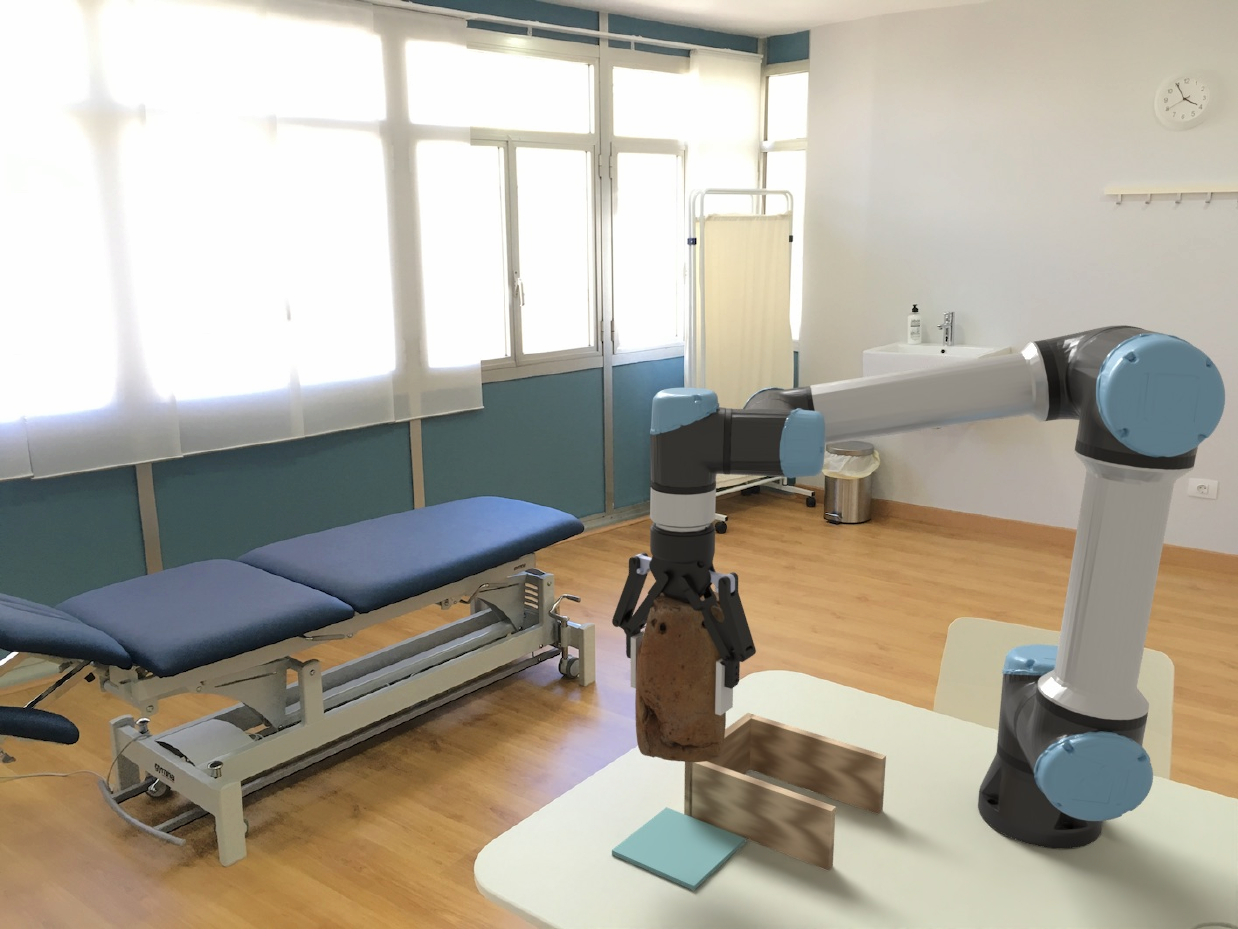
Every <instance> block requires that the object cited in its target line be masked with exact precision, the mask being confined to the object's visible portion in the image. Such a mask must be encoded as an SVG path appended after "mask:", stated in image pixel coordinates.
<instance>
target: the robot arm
mask: <svg viewBox="0 0 1238 929" xmlns="http://www.w3.org/2000/svg"><path fill="white" fill-rule="evenodd" d="M1219 370H1220V369H1219V368H1218V367H1217V366H1216V364H1215V363H1214V361H1213V360H1212V359H1211V358H1210V357H1209V356H1208V355H1207V353H1205V352H1204V351H1203V350H1201V349H1199V348H1198V347H1197V346H1194V345H1193V344H1192V343H1190V342H1189V341H1188V340H1187V341H1186V339H1183V338H1180V337H1178V336H1176V335H1173V334H1167V333H1163V332H1162V333H1161V332H1158V331H1152V330H1148V329H1144V328H1141V327H1137V326H1132V325H1109V326H1102V327H1098V328H1093V329H1089V330H1088V329H1087V330H1084V331H1080V332H1079V331H1078V332H1076V333H1071V334H1067V335H1062V336H1057V337H1051V338H1048V339H1041V340H1036V341H1034V340H1033V341H1030V342H1028V343H1027V344H1025V346H1024V347H1023V348H1022V350H1020V351H1019V352H1014V353H1008V354H1002V355H996V356H990V357H988V356H987V357H983V358H976V359H970V360H963V361H957V362H951V363H945V364H939V365H931V366H926V367H920V368H919V367H917V368H913V369H906V370H900V371H894V372H887V373H880V374H875V375H867V376H863V377H862V376H861V377H855V378H850V379H844V380H836V381H830V382H824V383H818V384H817V383H816V384H811V385H808V386H800V387H799V386H798V387H793V388H787V389H784V388H783V387H778V386H777V387H776V386H773V387H772V386H771V387H765V388H762V389H759V390H758V391H756V392H755V393H754V394H752V395H751V396H750V397H749V398H748V400H747V401H746V402H745V404H744V406H743V408H726V407H720V402H719V398H718V394H717V393H716V392H715V391H713V390H711V389H708V388H697V387H673V388H665V389H663V390H660V391H658V392H657V393H656V394H655V395H654V397H653V398H652V404H651V405H652V406H651V423H650V431H649V435H650V503H649V505H650V508H649V518H650V520H651V521H652V524H651V525H650V527H649V528H650V530H649V531H650V534H649V535H650V536H649V538H650V541H649V542H650V545H649V550H650V554H651V555H652V557H649V555H648V553H647V552H645V551H644V552H641V553H639V554H635V555H634V556H632V557H629V559H628V575H627V577H626V580H625V584H624V585H623V588H622V591H621V595H620V597H619V601H618V603H617V605H616V609H615V611H614V613H613V616H612V620H611V623H612V625H613V627H616V628H620V629H622V630H623V632H624V634H625V649H626V650H625V655H626V658H627V659H630V688H633V689H636V667H637V655H638V650H639V647H640V645H641V642H642V640H643V637H644V631H645V630H642V629H645V628H646V623H647V618H648V614H649V611H650V608H651V607H653V605H654V604H653V602H654V599H656V598H657V597H658V596H659V595H660V594H661V593H663V594H664V595H665V596H666V597H669V598H672V599H678V600H680V601H681V602H684V603H688V604H689V603H690V604H691V606H692V608H693V609H694V610H696V611H701V612H702V615H703V617H704V620H705V621H703V623H704V625H705V627H706V629H707V631H708V633H709V634H710V636H711V638H712V640H713V642H714V644H715V646H716V648H717V650H718V652H719V653H720V655H721V657H722V658H721V659H720V660H718V661H717V662H716V697H715V714H717V715H720V716H721V715H722V714H724V713H725V712H726V713H727V711H728V712H729V710H731V709H732V708H733V706H734V704H733V703H734V688H735V687H736V686H737V685H739V682H740V668H741V663H744V662H746V661H747V660H748V659H750V658H751V657H753V656H754V655H755V654H756V653H757V650H756V646H755V643H754V639H753V636H752V633H751V629H750V627H749V626H750V625H749V623H748V621H747V620H748V619H747V617H746V613H745V610H744V606H743V604H742V600H741V597H740V593H739V575H738V573H737V572H735V571H732V572H729V573H728V574H726V573H722V572H721V573H720V572H718V571H716V569H715V567H714V563H713V562H714V557H715V553H716V552H715V551H716V527H715V524H714V523H713V522H714V521H715V520H716V496H717V495H716V493H717V480H716V479H717V476H718V475H725V476H728V475H735V476H737V475H738V476H759V477H779V478H780V477H782V478H788V479H794V478H804V477H806V478H807V477H816V476H819V475H820V474H821V473H822V471H823V469H824V465H825V464H824V463H825V450H826V448H825V447H826V445H829V444H831V445H832V444H837V443H843V442H851V441H858V440H864V439H872V438H878V437H886V436H894V435H900V434H908V433H915V432H921V431H926V430H934V429H941V428H948V427H953V426H954V427H955V426H962V425H968V424H975V423H982V422H990V421H995V420H1003V419H1010V418H1016V417H1017V418H1018V417H1023V416H1029V417H1030V416H1031V417H1032V418H1034V420H1036V421H1038V422H1040V423H1041V422H1042V423H1043V422H1049V421H1057V420H1075V421H1076V420H1077V421H1078V426H1077V427H1078V428H1077V434H1076V441H1075V445H1074V446H1075V447H1074V454H1075V455H1076V457H1077V458H1078V459H1079V460H1080V462H1081V463H1082V464H1083V465H1084V467H1085V469H1086V473H1085V478H1084V484H1083V490H1082V497H1081V503H1080V510H1079V515H1078V523H1077V528H1076V534H1075V540H1074V541H1075V542H1074V546H1073V554H1072V558H1071V563H1070V564H1071V565H1070V573H1069V577H1068V578H1069V579H1068V584H1067V590H1066V596H1065V600H1064V607H1063V614H1062V615H1063V616H1062V621H1061V626H1060V627H1061V628H1060V631H1059V633H1060V634H1059V638H1058V644H1057V645H1054V644H1025V645H1019V646H1016V647H1013V648H1011V649H1010V650H1009V651H1008V652H1007V653H1006V655H1005V658H1004V666H1003V669H1002V670H1001V673H1002V682H1001V683H1002V685H1001V694H1000V695H1001V696H1000V708H999V719H998V730H997V731H998V732H997V743H996V744H997V746H996V753H995V754H994V757H993V759H992V761H991V763H990V766H989V767H988V770H987V772H986V773H985V776H984V777H983V780H982V782H981V784H980V786H979V791H978V797H977V798H978V799H977V800H978V801H977V808H978V809H977V810H978V812H979V814H980V815H981V818H982V819H983V820H984V821H985V822H986V824H988V825H989V826H990V827H992V828H993V829H994V830H996V831H997V832H1000V833H1001V834H1003V835H1004V836H1006V837H1008V838H1010V839H1013V840H1015V841H1017V842H1021V843H1023V844H1026V845H1029V846H1030V845H1031V846H1036V847H1041V848H1046V849H1056V850H1068V849H1069V850H1070V849H1076V848H1077V849H1078V848H1082V847H1086V846H1088V845H1091V844H1093V843H1094V842H1095V841H1097V840H1098V838H1100V836H1101V834H1102V830H1103V822H1104V821H1110V820H1114V819H1118V818H1121V817H1122V816H1123V815H1124V814H1126V813H1127V812H1132V811H1134V810H1135V809H1136V808H1138V807H1139V806H1140V805H1141V804H1143V802H1144V800H1145V799H1147V797H1148V795H1149V793H1150V791H1151V789H1152V786H1153V783H1154V782H1153V780H1154V770H1153V766H1152V763H1151V757H1150V755H1149V753H1148V752H1147V751H1146V750H1145V748H1144V747H1143V744H1144V737H1145V732H1146V726H1147V721H1148V717H1149V716H1148V715H1149V709H1150V704H1149V701H1148V699H1147V698H1146V697H1145V695H1144V694H1143V693H1142V692H1141V691H1140V689H1139V688H1138V684H1139V677H1140V673H1141V666H1142V662H1143V655H1144V650H1145V645H1146V640H1147V635H1148V634H1147V633H1148V630H1149V624H1150V617H1151V614H1152V613H1151V611H1152V607H1153V601H1154V595H1155V590H1156V584H1157V579H1158V574H1159V568H1160V567H1159V566H1160V562H1161V558H1162V557H1161V556H1162V553H1163V552H1162V551H1163V546H1164V543H1165V542H1164V540H1165V536H1166V532H1167V531H1166V530H1167V525H1168V518H1169V514H1170V513H1169V512H1170V508H1171V503H1172V499H1173V498H1172V496H1173V492H1174V486H1175V483H1176V481H1177V480H1178V479H1180V478H1181V477H1184V476H1185V475H1187V474H1188V473H1189V472H1192V471H1193V470H1194V468H1195V463H1196V457H1197V453H1198V448H1199V446H1200V444H1202V443H1203V442H1204V441H1205V440H1206V439H1208V438H1210V436H1212V435H1213V433H1214V431H1215V430H1216V428H1217V427H1218V425H1219V423H1220V421H1221V419H1222V416H1223V414H1224V409H1225V406H1226V390H1225V384H1224V381H1223V378H1222V374H1221V372H1220V371H1219ZM649 572H651V575H652V576H653V578H654V580H655V582H654V583H653V584H652V586H651V588H650V589H649V591H647V595H646V596H645V598H644V599H643V601H642V602H641V603H640V605H639V606H638V608H637V607H636V606H637V604H638V602H639V599H640V596H641V594H642V590H643V588H644V585H645V582H646V580H647V577H648V573H649ZM712 585H714V587H715V588H714V590H713V588H712V587H711V586H712ZM713 591H714V592H718V596H719V601H720V605H721V608H722V612H723V615H724V621H723V622H719V621H717V620H716V618H715V617H714V616H713V614H712V611H711V607H712V606H714V605H715V606H716V607H718V605H717V603H716V601H717V598H716V596H715V594H714V592H713ZM702 596H704V598H705V599H704V601H702V600H701V599H700V598H701V597H702ZM636 608H637V609H636ZM635 610H636V611H635Z"/></svg>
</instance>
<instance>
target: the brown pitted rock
mask: <svg viewBox="0 0 1238 929" xmlns="http://www.w3.org/2000/svg"><path fill="white" fill-rule="evenodd" d="M713 592H714V594H715V596H716V598H717V601H716V603H717V605H718V607H716V606H715V605H714V606H712V607H711V611H712V614H713V616H714V617H715V618H716V620H717V621H719V622H723V621H724V615H723V612H722V608H721V605H720V601H719V596H718V592H716V591H715V590H713ZM700 599H701V600H702V601H704V599H705V598H704V596H702V597H701V598H700ZM653 604H654V605H653V607H651V608H650V611H649V614H648V618H647V623H646V624H645V626H646V627H645V628H644V630H643V631H644V637H643V640H642V642H641V645H640V647H639V650H638V655H637V667H636V688H635V704H634V705H635V708H634V709H635V712H634V714H635V733H636V734H635V735H636V742H637V747H638V749H639V752H640V754H641V755H643V756H645V757H651V758H659V759H662V760H666V761H670V762H671V761H673V762H683V763H685V762H705V761H710V760H713V759H716V758H718V757H719V755H720V754H721V751H722V747H723V742H724V737H725V729H726V727H727V726H726V723H727V718H726V717H727V716H726V715H727V711H726V712H725V713H724V714H722V715H721V716H720V715H717V714H715V697H716V662H717V661H718V660H720V659H721V658H722V657H721V655H720V653H719V652H718V650H717V648H716V646H715V644H714V642H713V640H712V638H711V636H710V634H709V633H708V631H707V629H706V627H705V625H704V623H703V621H705V620H704V617H703V615H702V612H701V611H696V610H694V609H693V608H692V606H691V604H690V603H689V604H688V603H684V602H681V601H680V600H678V599H672V598H669V597H666V596H665V595H664V594H663V593H661V594H660V595H659V596H658V597H657V598H656V599H654V602H653Z"/></svg>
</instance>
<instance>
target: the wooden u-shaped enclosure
mask: <svg viewBox="0 0 1238 929" xmlns="http://www.w3.org/2000/svg"><path fill="white" fill-rule="evenodd" d="M886 762H887V755H886V754H882V753H878V752H876V751H872V750H870V749H866V748H863V747H859V746H857V745H853V744H850V743H848V742H843V741H840V740H836V739H834V738H831V737H827V736H825V735H824V736H823V735H821V734H817V733H814V732H812V731H808V730H806V729H802V728H799V727H795V726H792V725H789V724H785V723H783V722H779V721H776V720H772V719H770V718H765V717H763V716H759V715H756V714H753V713H750V712H747V713H746V714H744V715H743V716H742V717H740V718H739V719H737V720H736V721H734V723H732V724H730V725H729V726H728V727H727V728H726V727H725V737H724V742H723V747H722V751H721V754H720V755H719V757H718V758H716V759H713V760H710V761H705V762H684V796H683V797H684V798H683V799H684V804H683V805H684V806H683V809H684V810H683V814H685V815H687V816H690V817H692V818H695V819H698V820H700V821H703V822H705V823H708V824H710V825H713V826H715V827H718V828H720V829H723V830H726V831H728V832H731V833H733V834H736V835H738V836H741V837H743V838H745V840H748V841H751V842H754V843H756V844H759V845H761V846H764V847H766V848H769V849H771V850H773V851H776V852H780V853H781V854H784V855H787V856H789V857H791V858H794V859H797V860H798V861H799V860H800V861H803V862H805V863H807V864H810V865H812V866H814V867H817V868H820V869H823V870H824V871H826V872H827V871H828V872H829V871H830V870H831V869H832V868H833V867H834V853H835V852H834V850H835V830H836V829H835V828H836V811H837V808H836V806H835V805H832V804H829V803H827V802H823V801H821V800H817V799H815V798H812V797H809V796H807V795H806V796H805V795H803V794H800V793H798V792H795V791H791V790H790V789H786V788H783V787H781V786H777V785H774V784H772V783H770V782H766V781H764V780H761V779H757V778H755V777H752V776H750V775H747V774H746V773H747V772H749V771H753V772H755V773H757V774H761V775H764V776H767V777H769V778H773V779H776V780H778V781H781V782H784V783H787V784H790V785H792V786H796V787H798V788H801V789H803V790H808V791H810V792H813V793H816V794H818V795H821V796H824V797H827V798H830V799H833V800H835V801H840V802H842V803H844V804H848V805H850V806H853V807H856V808H859V809H862V810H865V811H867V812H870V813H873V814H877V815H881V813H882V812H883V811H884V793H885V781H886V780H885V779H886Z"/></svg>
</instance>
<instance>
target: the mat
mask: <svg viewBox="0 0 1238 929" xmlns="http://www.w3.org/2000/svg"><path fill="white" fill-rule="evenodd" d="M745 844H746V838H743V837H741V836H738V835H736V834H733V833H731V832H728V831H726V830H723V829H720V828H718V827H715V826H713V825H710V824H708V823H705V822H703V821H700V820H698V819H695V818H692V817H690V816H687V815H685V814H684V813H682V812H680V811H677V810H675V809H671V808H669V807H665V808H664V809H663V810H661V811H660V812H658V813H657V814H656V815H655V816H654V817H652V818H651V819H649V820H648V821H647V822H646V823H645V824H643V825H642V826H641V827H639V828H638V829H637V830H635V831H634V832H633V833H632V834H630V835H629V836H628V837H627V838H625V839H624V840H623V841H622V842H620V843H619V844H617V846H615V847H613V849H612V850H611V855H613V856H615V857H617V858H619V859H621V860H624V861H626V862H628V863H631V864H632V865H635V866H637V867H640V868H642V869H644V870H647V871H649V872H651V873H653V874H655V875H657V876H660V877H662V878H664V879H667V880H669V881H672V882H674V883H676V884H678V885H680V886H683V887H685V888H687V889H689V890H692V891H695V890H696V889H697V888H699V886H700V885H702V884H703V883H704V882H705V881H706V880H707V879H708V878H710V876H712V875H713V873H714V872H716V870H718V869H719V868H720V867H721V866H722V865H723V864H724V863H725V862H726V861H727V860H728V859H730V857H731V856H732V855H734V853H736V852H737V851H738V850H739V849H740V848H742V846H744V845H745Z"/></svg>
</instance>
